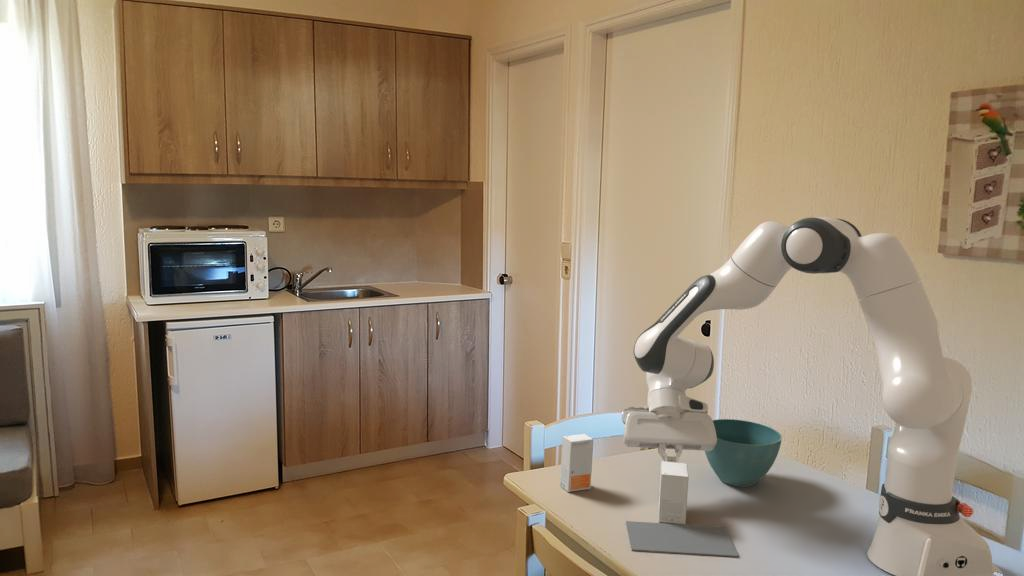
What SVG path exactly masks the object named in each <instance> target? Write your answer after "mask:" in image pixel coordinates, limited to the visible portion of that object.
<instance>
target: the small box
mask: <svg viewBox="0 0 1024 576" xmlns="http://www.w3.org/2000/svg"><path fill="white" fill-rule="evenodd" d="M688 470H689V469H688V464H687V463H684V462H679V463H676V462H666V461H664V460H662V461H661V462H660V471H659V473H660V474H659V475H660V476H659V492H658V523H667V524H684V525H687V524H686V522H687V507H688V506H687V505H688V493H689V492H688V491H689V480H690V479H689V471H688Z"/></svg>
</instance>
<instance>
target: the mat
mask: <svg viewBox="0 0 1024 576" xmlns="http://www.w3.org/2000/svg"><path fill="white" fill-rule="evenodd" d="M625 525H626V529H627V534H628V535H627V536H628V538H629V543H630V549H631V551H632V552H647V553H661V554H680V555H694V556H707V557H709V556H711V557H713V556H714V557H727V558H739V554H738V551H737V550H736V548H735V546H734V544H733V542H732V540H731V538H730V535H729V534H728V532H727V529H726V527H725V526H716V525H715V526H714V525H713V526H712V525H698V524H697V525H696V524H685V525H684V524H673V523H664V522H647V521H630V520H626V521H625Z"/></svg>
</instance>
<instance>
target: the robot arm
mask: <svg viewBox="0 0 1024 576" xmlns="http://www.w3.org/2000/svg"><path fill="white" fill-rule="evenodd" d="M791 269H794V270H797V271H799V272H802V273H805V274H811V275H812V274H815V275H816V274H831V273H839V272H840V273H842V274H844V275H845V276H846V277H847V278H848V279H849V282H851V284H852V287H853V289H854V293H855V294H856V297H857V300H858V303H859V305H860V308H861V311H862V314H863V316H864V319H865V320H866V324H867V326H868V329H869V331H870V334H871V337H872V342H873V343H874V348H875V349H874V350H875V355H876V359H877V360H876V361H877V365H878V370H879V375H880V380H881V387H882V395H881V396H882V397H881V398H882V400H881V401H882V407H883V409H884V411H885V413H886V414H887V416H888V417H889V418H890V419H891V420H892V421H894V423H895V427H894V430H893V432H892V436H891V438H890V440H889V443H888V447H887V457H886V465H885V476H884V483H882V484H881V489H880V496H879V500H878V501H879V502H878V514H879V517H878V521H877V524H876V529H875V533H874V535H873V538H872V541H871V543H870V546H869V548H868V549H867V552H866V554H867V557H868V559H869V560H870V562H872V563H873V565H875V566H876V567H878V568H879V569H881V570H882V571H884V572H886V573H888V574H891V575H893V576H996V575H994V574H993V573H994V572H997V573H1000V574H1004V573H1003V572H1002V570H1001V569H1000V568H999V567H998V566H997V565H996V564H995V563H993V555H992V551H991V548H990V546H989V545H990V544H988V542H987V541H986V540H985V538H984V537H982V536H981V535H980V534H979V533H978V532H977V531H976V530H975V529H974V528H972V527H971V526H970V525H969V523H967V522H966V521H965V520H964V519H962V518H961V516H960V514H961V515H962V516H963V517H965V518H970V517H972V516H973V515H974V509H973V508H972V507H971V506H969V505H968V504H967V503H966V502H961V501H960V500H959V499H958V498H956V497H954V496H953V490H954V483H955V475H956V466H957V459H958V454H959V450H960V445H961V442H962V438H963V433H964V429H965V424H966V420H967V415H968V412H969V407H970V406H969V405H970V401H971V397H972V396H971V394H972V391H973V381H972V376H971V375H970V373H969V370H968V369H967V367H965V366H964V365H963V364H962V363H960V362H959V361H958V360H956V359H953V358H949V357H946V356H944V355H943V351H942V347H941V341H940V337H939V331H938V330H939V327H938V319H937V318H936V315H935V313H934V309H933V307H932V305H931V303H930V300H929V298H928V294H927V292H926V290H925V287H924V285H923V282H922V281H921V278H920V276H919V273H918V271H917V268H916V266H915V265H914V262H913V261H912V259H911V257H910V255H909V254H908V252H907V251H906V249H905V247H904V246H903V244H902V243H901V241H900V240H899V239H898V237H896V236H895V235H892V234H891V233H888V232H887V233H886V232H876V233H870V234H866V235H863V236H862V233H861V232H860V230H859V229H858V227H856V226H855V225H854V224H853V223H851V222H849V221H848V220H845V219H841V218H834V217H831V216H816V217H815V216H814V217H805V218H802V219H800V220H797V221H796V222H794V223H793V224H791V225H790V226H788V225H786V224H783V223H781V222H778V221H777V222H776V221H772V220H770V221H769V220H768V221H764V222H762V223H760V224H758V225H757V226H756V227H755V228H754V229H753V230H752V231H751V232H750V233H749V235H748V236H746V237H745V238H744V240H743V241H742V242H741V243H740V245H738V247H736V249H735V251H734V252H733V254H732V255H731V256H730V257H729V259H728V260H727V261H725V263H724V264H722V266H720V267H719V268H718V269H716V270H714V271H713V272H712V273H710V274H707V275H703V276H700V277H699V278H697V279H695V281H694V282H693V283H692V284H690V285H689V286H688V287H687V289H686V290H685V291H684V292H683V293H682V294H681V295H680V296H679V297H678V298H677V299H676V300H675V301H674V302H673V303H672V304H671V306H670V307H668V308H667V310H666V311H665V312H664V313H663V314H662V315H660V317H659V318H658V319H657V320H656V321H655V322H654V323H653V324H652V325H650V326H649V327H647V328H646V329H645V330H644V331H643V332H641V334H640V335H639V336H638V337H637V338H636V341H635V342H634V346H633V356H634V360H635V361H636V364H637V365H638V368H640V370H641V371H642V372H645V380H646V381H645V382H646V386H647V388H648V392H647V397H646V398H647V399H646V401H647V407H640V406H639V407H635V406H634V407H633V406H630V407H628V408H626V409H624V410H623V411H622V413H621V420H622V423H623V424H624V431H623V445H624V444H625V445H624V446H626V447H628V448H643V449H644V448H645V449H657V452H658V455H659V456H660V457H661V459H662V460H663V461H666V462H676V463H680V462H679V461H680V460H679V459H680V457H681V455H682V452H683V451H684V450H685V451H703V452H705V451H712V450H713V449H714V447H715V446H716V443H717V436H716V431H715V427H714V423H713V420H714V419H713V418H712V417H711V415H709V414H708V412H709V404H707V403H706V402H704V401H700V400H697V399H694V398H692V397H689V396H687V394H686V390H688V389H693V388H695V387H697V386H699V385H701V384H703V383H705V382H706V381H707V380H708V379H710V377H711V376H712V374H713V372H714V369H715V368H714V367H715V358H714V354H713V352H712V350H711V349H710V347H709V345H705V344H704V343H701V342H698V341H695V340H692V339H689V338H685V337H683V336H680V334H681V333H682V332H683V331H684V330H685V329H686V328H687V327H688V326H689V325H690V324H691V323H692V322H693V321H694V319H696V318H697V317H698V316H700V315H701V314H703V313H706V312H711V311H717V310H748V309H753V308H756V307H758V306H759V305H761V304H762V303H763V302H765V301H766V300H767V299H768V298H769V297H770V296H771V294H772V293H773V291H774V290H775V289H776V288H777V286H778V285H779V283H780V282H781V281H782V280H783V278H784V277H785V275H786V274H787V273H788V272H789V271H790V270H791ZM666 449H667V450H674V453H675V455H674V456H669V455H668V454H667V453H666Z"/></svg>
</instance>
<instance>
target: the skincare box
mask: <svg viewBox="0 0 1024 576" xmlns="http://www.w3.org/2000/svg"><path fill="white" fill-rule="evenodd" d="M561 439H562V443H561V456H560V457H561V458H560V459H561V461H560V478H559V479H560V480H559V486H560V487H561V488H563V490H565V491H566V492H567V493H569V492H570V493H572V492H577V491H585V490H591V487H592V486H591V485H592V484H591V483H592V469H593V467H592V466H593V457H594V456H593V453H594V438H592V437H591V436H589V435H588V434H586V433H581V434H570V435H563V436H562V438H561Z"/></svg>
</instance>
